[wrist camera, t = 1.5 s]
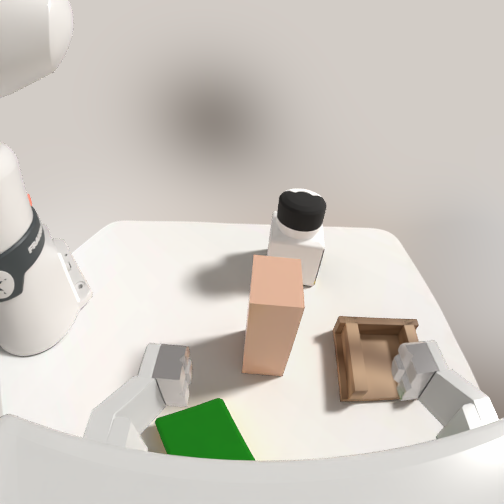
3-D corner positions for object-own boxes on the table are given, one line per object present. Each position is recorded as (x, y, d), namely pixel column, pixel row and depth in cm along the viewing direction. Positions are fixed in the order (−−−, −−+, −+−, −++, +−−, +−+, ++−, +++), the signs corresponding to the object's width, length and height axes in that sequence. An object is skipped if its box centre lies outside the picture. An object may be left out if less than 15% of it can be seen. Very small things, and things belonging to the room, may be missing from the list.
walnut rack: (424, 396, 31) (435, 386, 30) (340, 401, 31) (348, 390, 30) (408, 332, 39) (416, 319, 37) (332, 329, 39) (339, 316, 37)
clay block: (282, 376, 34) (304, 307, 26) (241, 372, 34) (249, 303, 26) (282, 332, 38) (301, 259, 31) (245, 329, 38) (253, 254, 31)
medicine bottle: (314, 287, 45) (334, 216, 37) (263, 280, 45) (273, 207, 37) (313, 254, 50) (329, 187, 42) (267, 248, 50) (277, 179, 43)
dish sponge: (214, 545, 19) (213, 546, 18) (157, 426, 28) (153, 418, 27) (284, 516, 22) (289, 515, 20) (221, 405, 31) (221, 396, 29)
